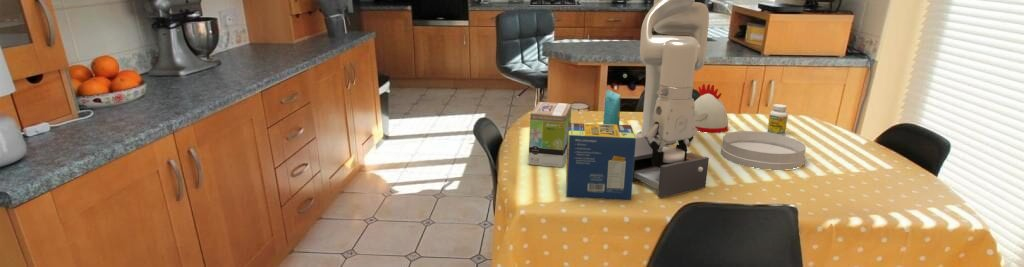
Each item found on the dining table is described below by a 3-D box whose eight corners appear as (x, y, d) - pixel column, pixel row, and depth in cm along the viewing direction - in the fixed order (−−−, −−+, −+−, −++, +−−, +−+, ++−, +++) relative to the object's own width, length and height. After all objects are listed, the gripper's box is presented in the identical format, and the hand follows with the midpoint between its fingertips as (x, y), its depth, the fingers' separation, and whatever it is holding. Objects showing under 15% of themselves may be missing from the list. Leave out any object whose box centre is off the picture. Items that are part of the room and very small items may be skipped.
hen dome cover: (698, 120, 198) (702, 79, 194) (734, 128, 189) (740, 85, 184) (677, 126, 189) (681, 84, 185) (714, 135, 180) (719, 90, 175)
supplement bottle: (785, 133, 183) (790, 105, 180) (783, 137, 179) (788, 108, 176) (768, 130, 186) (772, 102, 183) (765, 134, 181) (770, 106, 179)
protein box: (565, 181, 139) (568, 122, 135) (627, 184, 138) (632, 124, 134) (565, 197, 129) (568, 134, 125) (631, 201, 128) (637, 137, 124)
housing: (600, 168, 148) (602, 144, 146) (643, 160, 155) (645, 136, 153) (629, 183, 138) (631, 157, 136) (674, 174, 145) (677, 148, 143)
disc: (690, 160, 134) (691, 152, 133) (668, 164, 131) (669, 156, 130) (669, 152, 140) (670, 145, 139) (648, 156, 136) (649, 148, 136)
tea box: (564, 168, 149) (566, 115, 144) (527, 165, 151) (528, 112, 146) (569, 151, 163) (571, 102, 159) (536, 148, 165) (537, 100, 161)
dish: (813, 158, 160) (816, 141, 158) (789, 177, 144) (792, 159, 143) (737, 142, 174) (739, 126, 173) (707, 158, 159) (709, 141, 157)
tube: (623, 161, 155) (628, 94, 149) (609, 163, 153) (613, 95, 147) (608, 153, 161) (612, 88, 155) (594, 155, 159) (597, 90, 153)
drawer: (627, 181, 139) (629, 152, 137) (670, 172, 146) (673, 144, 144) (662, 198, 129) (665, 167, 127) (707, 188, 135) (710, 158, 133)
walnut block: (689, 169, 148) (691, 152, 147) (703, 175, 144) (706, 157, 143) (675, 172, 146) (677, 155, 144) (689, 179, 142) (691, 160, 140)
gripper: (658, 99, 123) (652, 173, 128) (714, 92, 131) (705, 163, 136) (636, 92, 130) (631, 164, 135) (690, 86, 138) (683, 154, 143)
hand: (668, 163), depth 135 cm, fingers closed on disc, 7 cm apart
